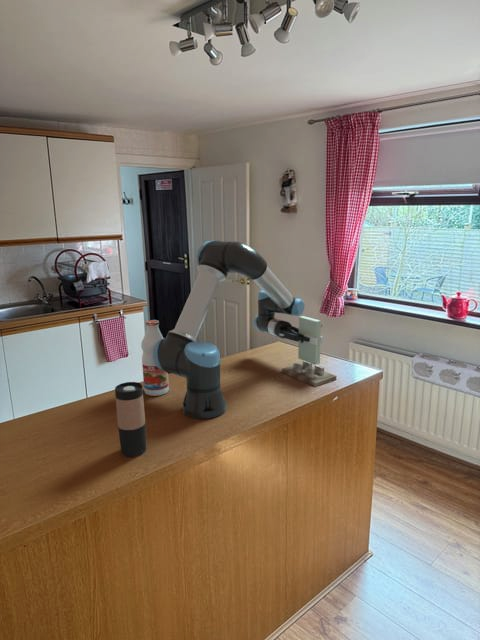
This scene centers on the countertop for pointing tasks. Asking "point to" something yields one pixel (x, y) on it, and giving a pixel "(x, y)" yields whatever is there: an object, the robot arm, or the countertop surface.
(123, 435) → the travel mug
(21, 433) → the countertop surface
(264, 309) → the robot arm
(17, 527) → the countertop surface
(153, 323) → the fruit juice
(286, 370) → the hinge base
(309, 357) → the door
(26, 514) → the countertop surface
